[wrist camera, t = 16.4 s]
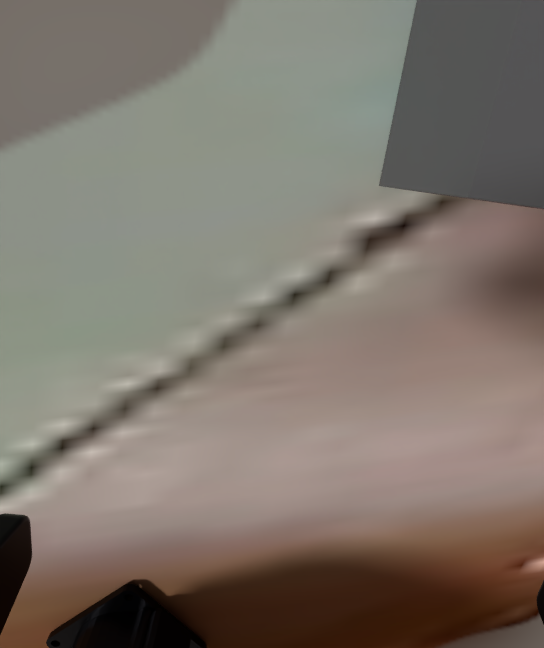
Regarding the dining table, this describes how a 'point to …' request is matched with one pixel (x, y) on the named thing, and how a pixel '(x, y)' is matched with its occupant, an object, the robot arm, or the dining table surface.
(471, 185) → the dark grey block
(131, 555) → the dining table surface
